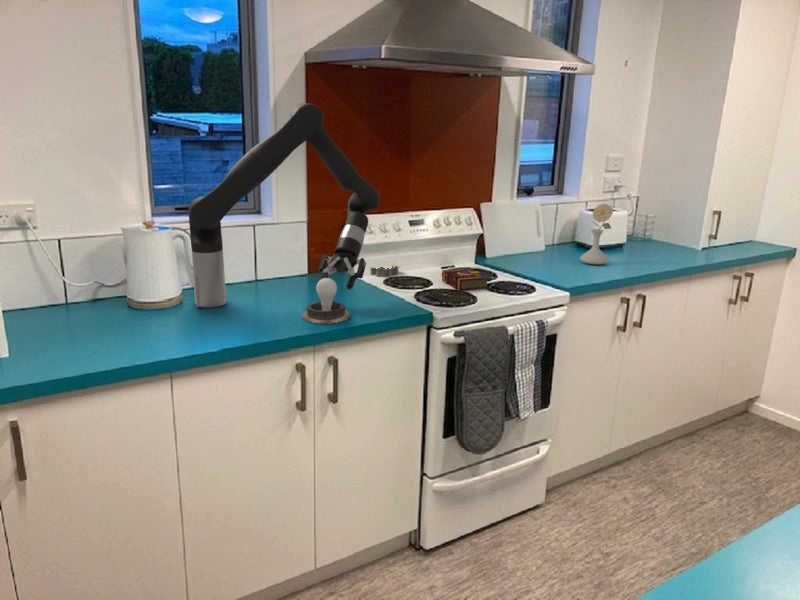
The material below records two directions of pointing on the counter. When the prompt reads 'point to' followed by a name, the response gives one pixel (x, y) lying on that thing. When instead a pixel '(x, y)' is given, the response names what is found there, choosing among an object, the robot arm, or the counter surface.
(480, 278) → the decorative book
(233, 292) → the counter surface
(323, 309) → the lightbulb
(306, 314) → the bulb holder
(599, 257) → the flower in vase
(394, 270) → the egg carton
